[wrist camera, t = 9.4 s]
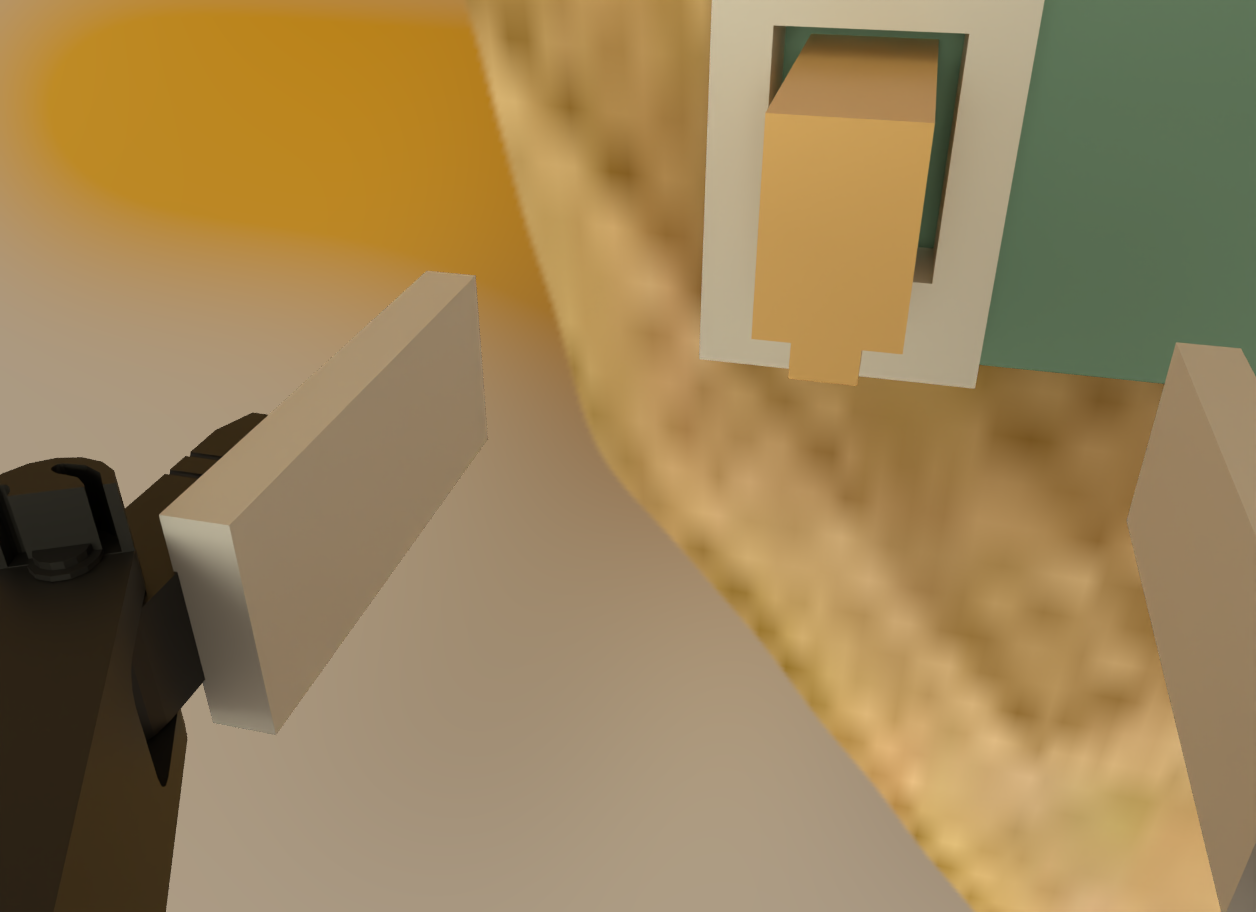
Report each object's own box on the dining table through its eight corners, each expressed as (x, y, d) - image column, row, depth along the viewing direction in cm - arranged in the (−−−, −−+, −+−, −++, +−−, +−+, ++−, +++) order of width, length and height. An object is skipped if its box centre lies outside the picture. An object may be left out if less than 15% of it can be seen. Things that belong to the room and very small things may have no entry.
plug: (938, 39, 26) (935, 123, 20) (909, 253, 29) (897, 390, 22) (811, 33, 27) (765, 112, 20) (794, 243, 30) (749, 374, 23)
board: (1803, -133, 22) (1934, -121, 19) (1544, 405, 28) (1613, 477, 25) (742, -145, 26) (716, -137, 23) (721, 323, 32) (698, 376, 29)
